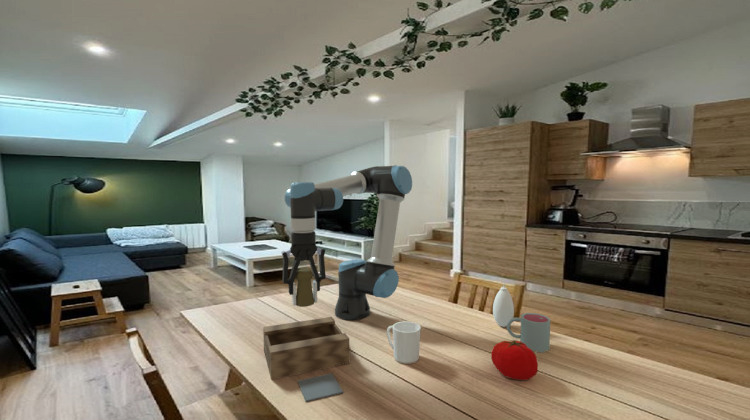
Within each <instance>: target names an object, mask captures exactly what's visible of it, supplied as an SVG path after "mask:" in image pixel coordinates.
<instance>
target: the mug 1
mask: <svg viewBox="0 0 750 420" xmlns="http://www.w3.org/2000/svg"><path fill="white" fill-rule="evenodd" d="M391 329H392V339H391V335H390V334H391V333H390V330H391ZM421 329H422V327H421V325H420V324H419V323H416V322H413V321H409V320H407V321H406V320H405V321H403V320H402V321H399V322H395V323H394V324H393V325H389V326H388V327H387V329H386V336H387V340H388V343H389V346H390V347H391V349H392V350H393V358H394V361H396V362H397V363H399V362H400V363H399V364H402V363H403V365H411V364H412V363H413V364H415V363H417V362H418V361H419V359H420V348H421V346H420V344H421Z"/></svg>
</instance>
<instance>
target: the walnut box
mask: <svg viewBox="0 0 750 420" xmlns="http://www.w3.org/2000/svg"><path fill="white" fill-rule="evenodd" d="M262 329H263V330H262V331H263V333H262V334H263V351H264V357H265V360H266V365H267V368H268V373H269V376H270V380H272V381H273V380H276V379H282V378H286V377H291V376H295V375H300V374H305V373H310V372H314V371H320V370H325V369H328V368H329V369H330V368H334V367H339V366H343V365H347V364H348V365H349V364H350V337H349V336H348V335H347V333H346V332H343V331H341V329H340V328H339V326H338V325H336V320H335V319H334V318H333V316H328V317H320V318H314V319H307V320H300V321H293V322H287V323H281V324H274V325H268V326H263V327H262Z"/></svg>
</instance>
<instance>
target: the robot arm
mask: <svg viewBox="0 0 750 420" xmlns="http://www.w3.org/2000/svg"><path fill="white" fill-rule="evenodd" d="M412 187H413V177H412V175H411V172H410V171H409V169H408V168H407V167H406V166H404V165H397V164H395V165H380V166H377V165H376V166H371V167H367V168H363V169H361V170H357V171H353V172H352V173H350V175H346V176H343V177H338V178H334V179H330V180H326V181H322V182H318V183H314V182H312V181H310V182H306V181H305V182H292V183H291V184H290V188H289V189H287V190H286V191H285V193H284V203H285V204H286V206H287V207H288V208H290V225H291V226H290V230H291V233H290V234H291V235H290V238H291V241H290V242H291V243H290V244H291V245H290V249H288V250H283V251H281V255H282V278H281V279H282V282H283V284H285V285H288V294H289V295H290V296H291V302H292V305H293V306H296V292H297V285H296V283H295V279H296V273H297V271H298V270H299V265H301V264H300V263H301V262H303V261H308V263H309V265H310V270H311V271H312V276H313V278H314V280H312V291H313V298H314V304H316V303H318V292H321V291H320V290H321V282H322V281H323V280H325V279H326V267H325V255H326V249H324V248H322V247H321V248H320V247H317V244H316V239H317V237H316V232H315V230H316V212H320V211H321V212H323V211H335V210H338V209H340V208H341V207H342V206H343V203H344V197H346V196H349V195H353V194H356V195H362V194H376V197H377V198H378V200H379V202H378V209H377V216H376V222H375V228H374V233H373V234H374V236H373V240H372V241H373V242H372V248H371V254H370V258H368V259H367V260H365V259H361V258H360V259H359V258H358V259H350V260H346V261H345V260H344V261H341V262H340V263H339V265H338V298H337V301H336V305H335V308H334V316H336V317H337V318H338V319H341V320H348V321H353V320H356V321H357V320H361V319H365V318H367V317H369V316H370V314H371V308H370V304H369V302H368V298H367V295H369V296H373V297H376V298H380V299H381V298H382V299H386V298H389V297H391V296H392V295H393V294H394V293H395V291H396V290H397V287H398V285H399V281H400V280H399V279H400V278H399V277H400V276H399V273H398V271H397V270H396V269H395V266H396V265H395V263H394V262H393V254H394V253H393V252H394V246H395V240H396V235H397V234H396V233H397V232H396V231H397V226H398V219H399V213H400V206H401V203H402V202H403V201H405V196H406V195H408V194H409V193H410V192H411V191H412ZM316 253H317V255H318V265H319V267H318V268H319V272H318V269H317V266H316V262H315V259H314V255H315V254H316ZM291 254H292V256H293V257H294V259H293V263H292V267H291V271H290V274H289V258H290V256H291Z"/></svg>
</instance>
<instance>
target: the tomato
mask: <svg viewBox="0 0 750 420" xmlns="http://www.w3.org/2000/svg"><path fill="white" fill-rule="evenodd" d="M526 345H527V344H524V343H522V342H521V341H520V340H516V339H513V340H511V341H508V340H501V341H500V342H497V343H496V344H494V346H493V348H492V349H491V353H490V354H491V357H490V358H491V361H492V364H493V365H494V367H495V368H496V369H497V371H499V372H500V373H501V374H502V376H503V377H505V378H509V379H513V380H520V381H521V380H522V381H527V380H530V379H532V378H533V377H535V376H536V375H537V373H538V367H539V364H538V358H537V355H536V354H535V352H533V351H532V350H531V349H530V348H528V347H527V346H526Z"/></svg>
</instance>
